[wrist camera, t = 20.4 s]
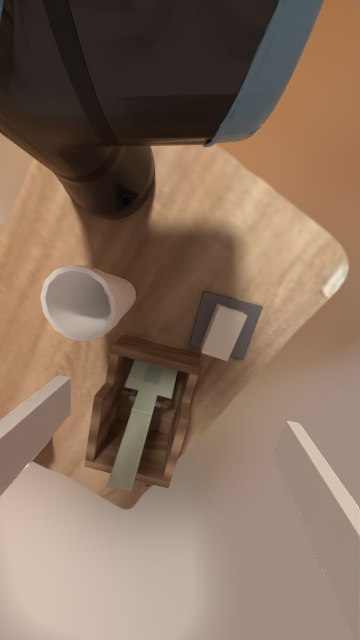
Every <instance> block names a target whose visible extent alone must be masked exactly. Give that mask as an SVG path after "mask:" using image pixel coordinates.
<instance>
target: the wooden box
mask: <svg viewBox="0 0 360 640" xmlns="http://www.w3.org/2000/svg"><path fill="white" fill-rule="evenodd" d="M127 358H131V359H135V360H139V361H143V362H147V363H151V364H155V365H159V366H162V367H166V368H170V369H174V370H178V371H182V372H186V377H185V380H184V383H183V387H182V390H181V394H180V397H179V401H178V404H177V408H176V411H175V415H174V418H173V422H172V425H171V429H170V432H169V435H167V434H163V433H159V432H155V431H152V430H148V432H147V436H146V440H145V443H144V447H143V451H142V455H141V458H140V462H139V466H138V469H137V473H136V477H135V480H139V481H143V482H146V483H150V484H154V485H158V486H162V487H166V488H168V487H169V484H170V481H171V478H172V474H173V471H174V468H175V465H176V462H177V459H178V456H179V452H180V449H181V446H182V443H183V440H184V437H185V434H186V430H187V427H188V424H189V420H190V401H191V398H192V395H193V392H194V388H195V385H196V382H197V379H198V375H199V372H200V369H201V366H200V356H199V354H195V353H191V352H187V351H183V350H179V349H175V348H171V347H168V346H164V345H160V344H156V343H152V342H148V341H144V340H140V339H136V338H132V337H129V336H125V335H123V336H122V337H121V338H120V339H119V340H117V341H116V342H115V343H114V344H113V345H112V346H111V353H110V359H109V366H108V372H107V378H106V383H105V384H104V385H103V386H102V388H101V389H100V390H99V391H98V392H97V394H96V395H95V396H94V402H93V409H92V416H91V423H90V430H89V438H88V445H87V452H86V459H85V467H89V468H93V469H96V470H100V471H104V472H108V473H112V470H113V466H114V463H115V460H116V457H117V454H118V451H119V448H120V445H121V442H122V439H123V436H124V433H125V430H126V427H127V424H125V423H121V422H117V421H115V419H116V414H117V408H118V403H119V398H120V392H121V387H122V381H123V376H124V370H125V365H126V360H127ZM132 390H133V389H129V388H124V390H123V392H122V394H126V395H130V393H131V392H132ZM172 395H173V394H172ZM171 401H172V398H171V399H168V398H165V399H164V403H163V404H165V405H168V406H171Z"/></svg>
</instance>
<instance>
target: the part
mask: <svg viewBox="0 0 360 640" xmlns="http://www.w3.org/2000/svg"><path fill="white" fill-rule="evenodd" d="M246 318H247V315H246V314H244V313H243V312H240V311H237V310H235V309H232V308H229V307H226V306H223V305H220V304H217V305H216V308H215V310H214V313H213V316H212V318H211V321H210V323H209V326H208V329H207V331H206V334H205V336H204V339H203V342H202V344H201V353H203V354H206V355H209V356H212V357H215V358H218V359H222V360H225V361H228V359H229V357H230V355H231V352H232V350H233V348H234V345H235V343H236V341H237V339H238V336H239V334H240V332H241V329H242V327H243V325H244V322H245V320H246Z"/></svg>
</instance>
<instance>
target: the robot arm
mask: <svg viewBox="0 0 360 640" xmlns="http://www.w3.org/2000/svg"><path fill="white" fill-rule="evenodd" d="M323 2H324V0H0V133H1V134H2V135H4V136H5V137H6V138H8V139H9V140H11V141H12V142H13V143H15V144H16V145H17V146H19V147H20V148H21V149H23V150H24V151H26V152H27V153H28V154H29V155H31V156H32V157H33V158H35V159H36V160H37V161H39V162H40V163H41V164H43V165H44V166H45V167H47V168H48V169H50V170H51V171H52V172H54V174H55V175H56V177H57V178H58V179H59V181H60V182H61V183H62V185H63V187H64V188H65V190H66V191H67V193H68V194H69V195H70V197H71V198H72V199H73V200H74V201H75V202H76V203H77V204H78V205H79V206H81V207H82V208H84V209H85V210H87V211H88V212H90V213H92V214H93V215H95V216H98V217H100V218H104V219H120V218H124V217H127V216H129V215H131V214H132V213H134V212H135V211H136V210H138V209H139V208H140V207H141V205H142V204H143V203H144V202H145V200H146V199H147V197H148V195H149V193H150V190H151V187H152V184H153V179H154V158H153V153H152V149H151V146H168V145H203V146H204V147H210V146H212V145H214V144H215V143H225V142H236V141H242V140H245V139H247V138H249V137H251V136H252V135H253V134H254V133H255V132H256V131H257V130H258V129H259V128H260V127H261V126H262V124H264V123H265V121H266V120H267V119H268V117H269V116H270V114H271V113H272V111H273V110H274V108H275V106H276V105H277V103H278V101H279V100H280V98H281V96H282V94H283V92H284V90H285V89H286V87H287V84H288V83H289V80H290V78H291V76H292V74H293V72H294V70H295V68H296V66H297V64H298V61H299V59H300V57H301V55H302V52H303V50H304V48H305V46H306V43H307V41H308V39H309V36H310V34H311V31H312V29H313V27H314V24H315V21H316V19H317V16H318V14H319V12H320V9H321V6H322V4H323ZM70 409H71V377H66V376H61V375H58V376H57V377H55V378H54V379H53V380H51V381H50V382H49V383H48V384H46V385H45V386H44V387H42V388H41V389H40V390H38V391H37V392H36V393H35V394H33V395H32V396H31V397H29V398H28V399H27V400H25V401H24V402H23V403H22V404H20V405H19V406H18V407H16V408H15V409H14V410H12V411H11V412H10V413H9V414H7V415H6V416H5V417H3V418H2V419H1V420H0V496H1V494H2V493H3V492H4V491H5V490H6V489H7V487H8V486H9V485H10V484H11V483H12V482H13V480H14V479H15V478H16V477H17V476H18V475H19V473H20V472H21V471H22V470H23V469H24V468H25V466H26V465H27V464H28V463H29V462H30V461H31V459H32V458H33V457H34V456H35V455H36V454H37V452H38V451H39V450H40V449H41V448H42V447H43V445H44V444H45V443H46V442H47V441H48V440H49V438H50V437H51V436H52V435H53V434H54V433H55V431H56V430H57V429H58V428H59V427H60V426H61V424H62V423H63V422H64V421H65V420H66V419H67V417H68V416H69V415H70ZM272 457H273V459H274V461H275V464H276V466H277V469H278V471H279V473H280V476H281V478H282V480H283V482H284V485H285V487H286V489H287V492H288V494H289V496H290V499H291V501H292V503H293V506H294V508H295V510H296V512H297V515H298V517H299V519H300V522H301V524H302V526H303V528H304V531H305V533H306V535H307V538H308V540H309V542H310V545H311V547H312V549H313V552H314V554H315V556H316V559H317V561H318V563H319V566H320V568H321V570H322V572H323V575H324V577H325V579H326V582H327V584H328V586H329V589H330V591H331V593H332V596H333V598H334V600H335V602H336V605H337V607H338V609H339V612H340V614H341V616H342V619H343V621H344V623H345V625H346V628H347V630H348V632H349V635H350V637H351V639H352V640H360V508H359V507H358V505H357V504H356V503H355V501H354V500H353V498H352V497H351V495H350V494H349V493H348V491H347V490H346V489H345V487H344V486H343V484H342V483H341V481H340V480H339V479H338V477H337V476H336V474H335V473H334V472H333V470H332V469H331V467H330V466H329V464H328V463H327V462H326V460H325V459H324V457H323V456H322V455H321V453H320V452H319V450H318V449H317V447H316V446H315V445H314V443H313V442H312V440H311V439H310V438H309V436H308V435H307V433H306V432H305V431H304V429H303V428H302V426H301V425H300V424H299V423H295V422H290V421H286V423H285V425H284V428H283V430H282V432H281V435H280V437H279V439H278V442H277V444H276V446H275V449H274V451H273V453H272Z"/></svg>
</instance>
